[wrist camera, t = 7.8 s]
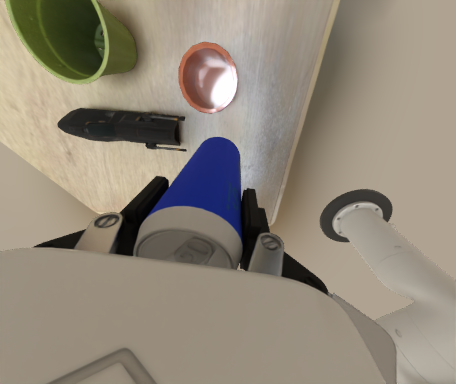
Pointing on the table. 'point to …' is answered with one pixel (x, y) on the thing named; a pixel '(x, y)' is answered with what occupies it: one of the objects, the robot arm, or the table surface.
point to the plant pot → (73, 38)
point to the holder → (208, 77)
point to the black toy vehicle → (123, 127)
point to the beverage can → (199, 212)
